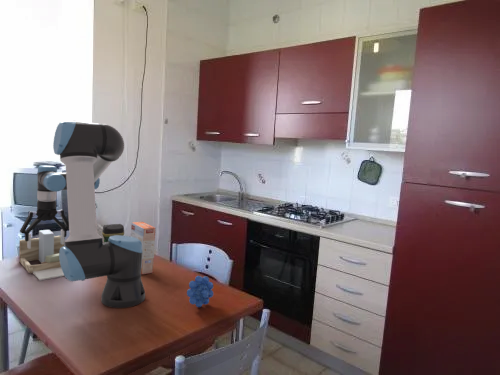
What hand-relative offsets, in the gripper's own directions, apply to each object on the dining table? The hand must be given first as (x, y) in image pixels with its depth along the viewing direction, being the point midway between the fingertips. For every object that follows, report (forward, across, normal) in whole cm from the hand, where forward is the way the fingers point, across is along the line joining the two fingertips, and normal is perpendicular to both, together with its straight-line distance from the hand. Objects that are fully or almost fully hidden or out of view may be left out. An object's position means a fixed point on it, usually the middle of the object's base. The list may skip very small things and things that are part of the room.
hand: (46, 246), depth 162 cm
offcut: (+5, -1, +9) cm, 10 cm away
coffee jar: (+8, -24, +16) cm, 30 cm away
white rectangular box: (+7, 0, 0) cm, 7 cm away
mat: (+7, +2, +17) cm, 19 cm away
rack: (+7, 0, +3) cm, 8 cm away
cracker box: (+7, -31, +31) cm, 45 cm away
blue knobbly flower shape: (+7, -30, +78) cm, 84 cm away
